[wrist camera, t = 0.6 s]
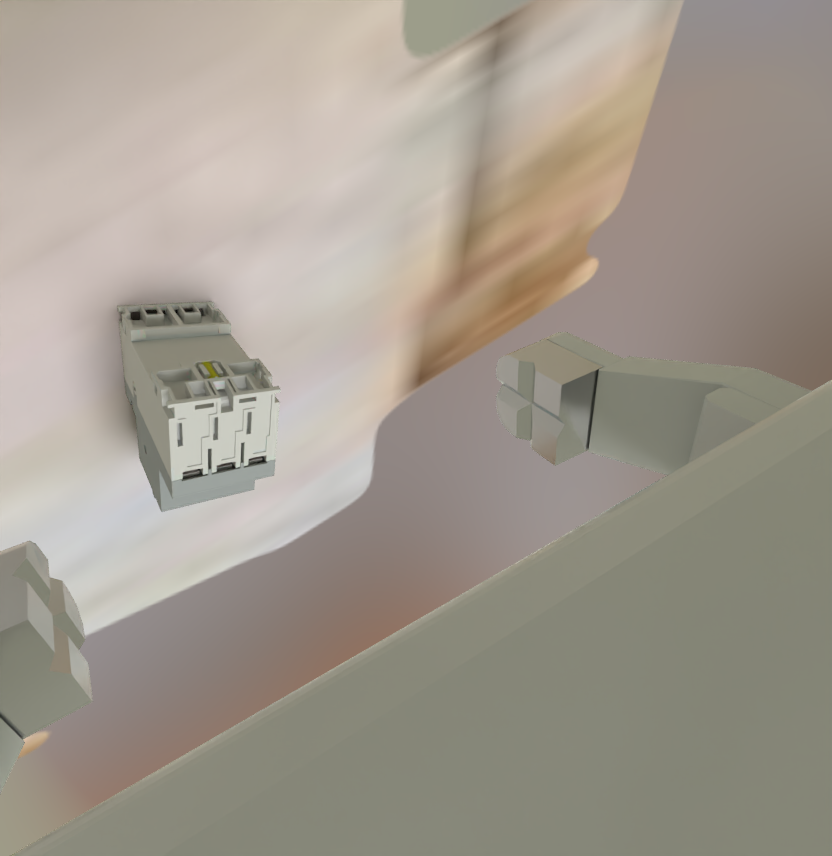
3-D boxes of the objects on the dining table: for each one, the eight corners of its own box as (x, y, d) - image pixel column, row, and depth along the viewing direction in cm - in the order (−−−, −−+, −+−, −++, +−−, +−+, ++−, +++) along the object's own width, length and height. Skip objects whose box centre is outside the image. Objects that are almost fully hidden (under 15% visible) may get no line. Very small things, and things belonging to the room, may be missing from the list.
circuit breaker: (131, 449, 52) (175, 560, 43) (117, 305, 44) (167, 401, 35) (212, 435, 56) (269, 533, 47) (212, 301, 49) (280, 386, 39)
